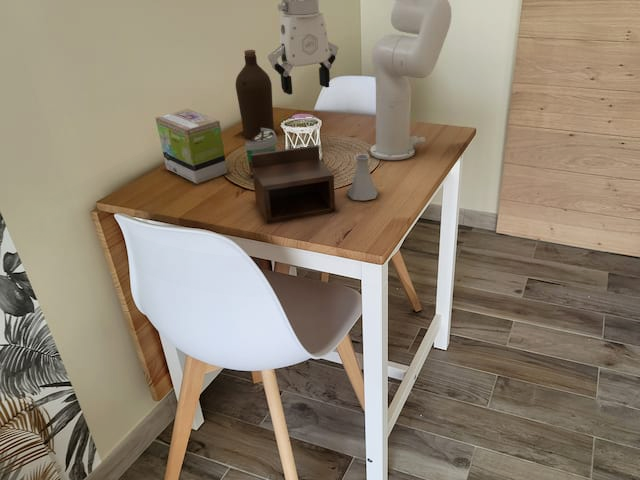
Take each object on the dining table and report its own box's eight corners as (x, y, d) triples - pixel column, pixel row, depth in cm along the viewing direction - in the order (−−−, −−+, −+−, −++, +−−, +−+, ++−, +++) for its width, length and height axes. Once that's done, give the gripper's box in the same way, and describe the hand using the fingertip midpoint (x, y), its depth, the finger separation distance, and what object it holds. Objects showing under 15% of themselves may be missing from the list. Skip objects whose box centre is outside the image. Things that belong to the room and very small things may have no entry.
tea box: (165, 170, 154) (153, 116, 146) (197, 160, 160) (187, 107, 153) (196, 185, 145) (186, 128, 138) (228, 173, 152) (220, 118, 144)
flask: (347, 190, 141) (345, 151, 136) (376, 188, 142) (376, 150, 136) (349, 202, 135) (347, 162, 130) (379, 200, 136) (379, 160, 130)
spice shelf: (320, 191, 141) (317, 144, 134) (335, 211, 131) (333, 162, 125) (256, 202, 136) (250, 154, 130) (266, 223, 126) (261, 172, 120)
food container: (271, 181, 147) (267, 143, 141) (249, 179, 148) (244, 142, 143) (286, 163, 157) (283, 128, 152) (265, 162, 158) (261, 127, 153)
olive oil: (276, 139, 174) (268, 53, 161) (241, 141, 173) (230, 55, 160) (275, 128, 183) (267, 46, 170) (242, 130, 182) (231, 48, 169)
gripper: (273, 13, 114) (280, 99, 123) (344, 5, 122) (347, 86, 131) (256, 9, 119) (264, 92, 128) (326, 2, 128) (329, 80, 137)
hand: (306, 89), depth 130 cm, fingers open, 9 cm apart
